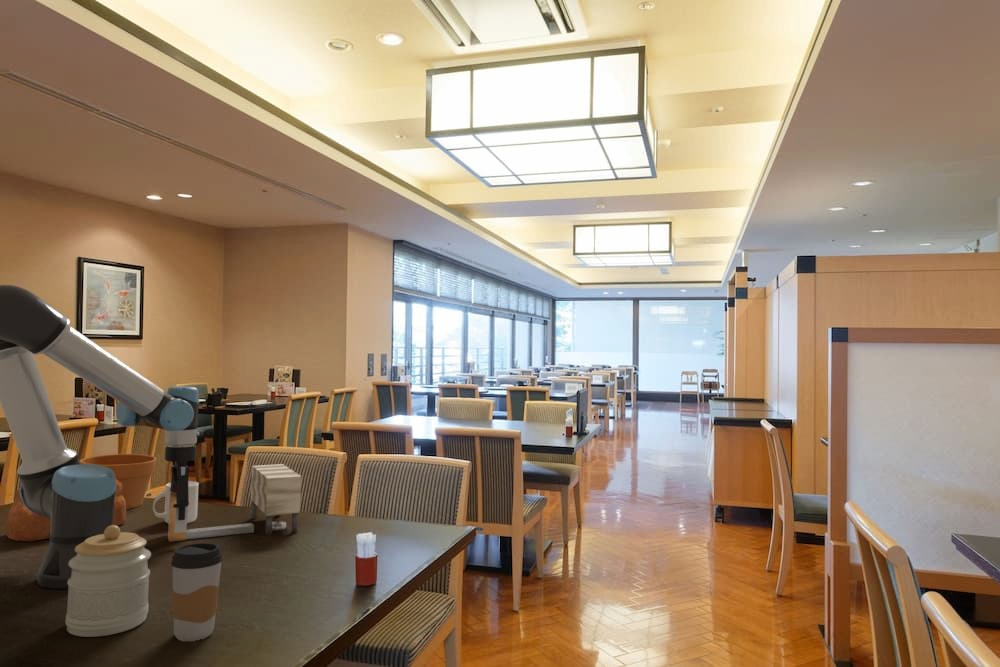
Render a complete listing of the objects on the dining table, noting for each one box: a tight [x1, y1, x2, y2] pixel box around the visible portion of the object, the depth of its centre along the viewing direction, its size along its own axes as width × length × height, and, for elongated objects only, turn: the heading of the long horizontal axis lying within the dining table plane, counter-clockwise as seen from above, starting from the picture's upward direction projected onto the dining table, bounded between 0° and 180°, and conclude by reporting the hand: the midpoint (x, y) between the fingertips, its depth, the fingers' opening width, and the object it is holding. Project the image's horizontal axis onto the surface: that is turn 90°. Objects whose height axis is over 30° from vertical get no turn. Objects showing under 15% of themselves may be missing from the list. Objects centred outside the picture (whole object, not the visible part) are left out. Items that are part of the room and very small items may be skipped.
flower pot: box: [79, 453, 157, 510], centre depth 207 cm, size 21×21×15 cm
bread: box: [5, 479, 128, 542], centre depth 179 cm, size 14×26×16 cm, turn 143°
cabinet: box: [250, 463, 302, 537], centre depth 190 cm, size 22×9×16 cm, turn 31°
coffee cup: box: [170, 542, 224, 642], centre depth 116 cm, size 8×8×15 cm
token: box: [272, 520, 287, 532], centre depth 186 cm, size 5×5×2 cm
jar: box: [65, 525, 152, 638], centre depth 120 cm, size 13×13×18 cm
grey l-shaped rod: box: [167, 492, 255, 543], centre depth 178 cm, size 4×21×12 cm, turn 121°
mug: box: [152, 480, 199, 525], centre depth 190 cm, size 9×12×11 cm
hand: (177, 526), depth 173 cm, fingers open, 13 cm apart
